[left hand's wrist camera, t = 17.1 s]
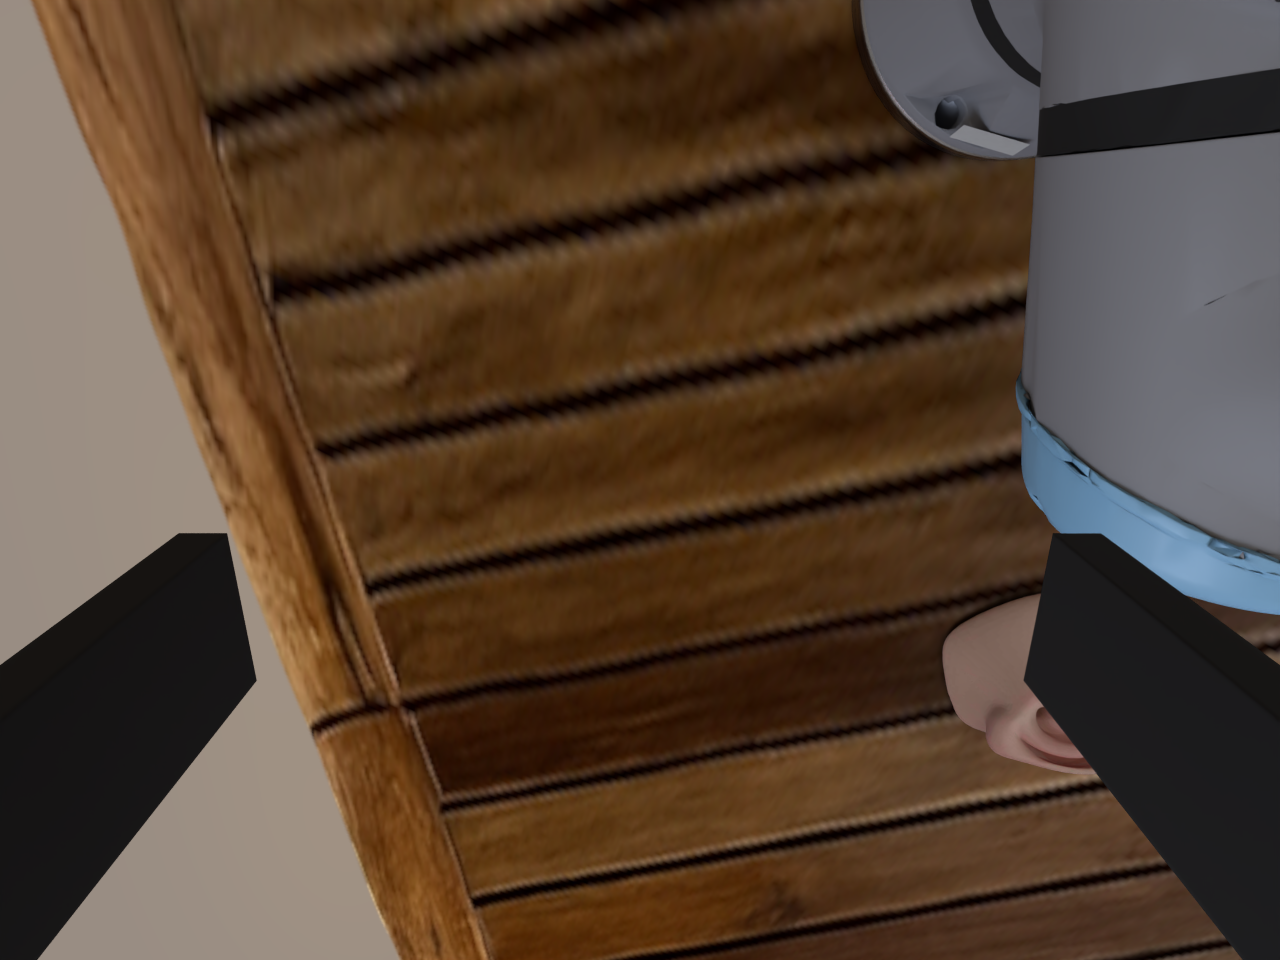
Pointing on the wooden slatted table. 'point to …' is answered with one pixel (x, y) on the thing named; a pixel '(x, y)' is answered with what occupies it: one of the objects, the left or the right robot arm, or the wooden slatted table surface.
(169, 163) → the wooden slatted table surface
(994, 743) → the anatomical model
